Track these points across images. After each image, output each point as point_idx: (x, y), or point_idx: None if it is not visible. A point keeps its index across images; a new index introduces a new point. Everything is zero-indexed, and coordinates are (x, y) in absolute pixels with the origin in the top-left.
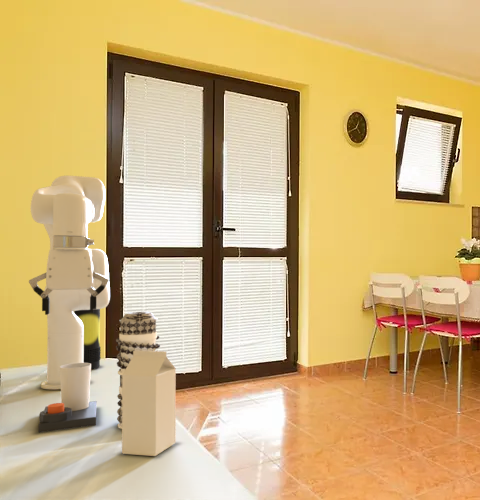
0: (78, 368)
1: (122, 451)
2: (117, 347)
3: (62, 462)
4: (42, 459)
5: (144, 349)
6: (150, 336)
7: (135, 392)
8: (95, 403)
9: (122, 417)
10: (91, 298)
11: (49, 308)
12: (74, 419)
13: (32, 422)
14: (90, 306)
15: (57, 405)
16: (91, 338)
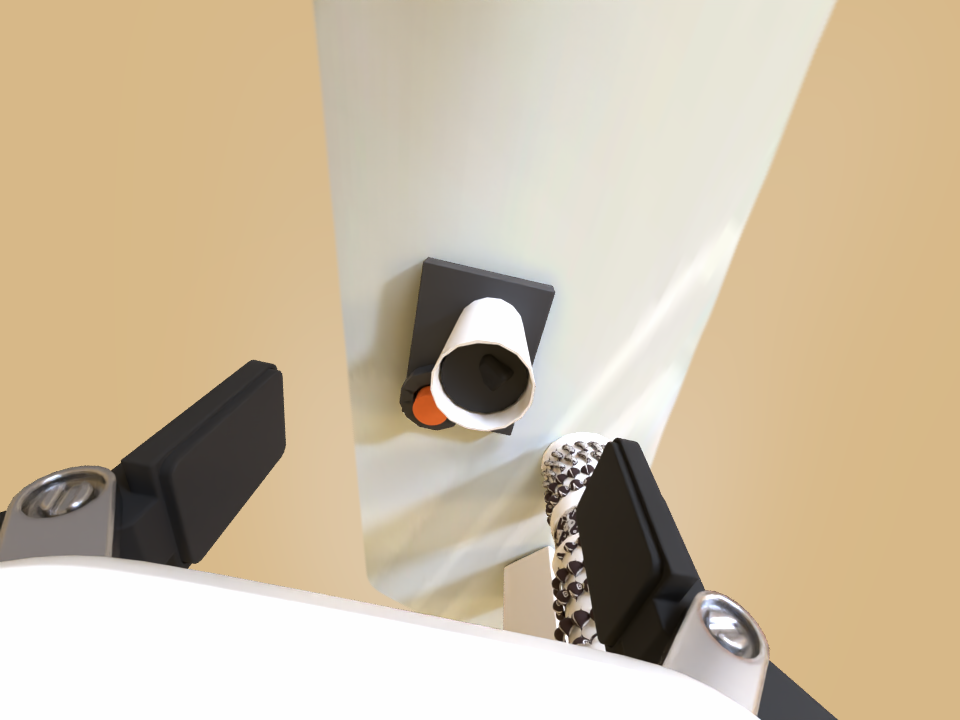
0: (482, 428)
1: (504, 569)
2: (560, 631)
3: (429, 545)
4: (406, 522)
5: None
6: None
7: None
8: (544, 319)
9: (503, 623)
10: (608, 641)
11: (258, 400)
12: None
13: (396, 313)
14: (586, 556)
15: (432, 418)
16: None
